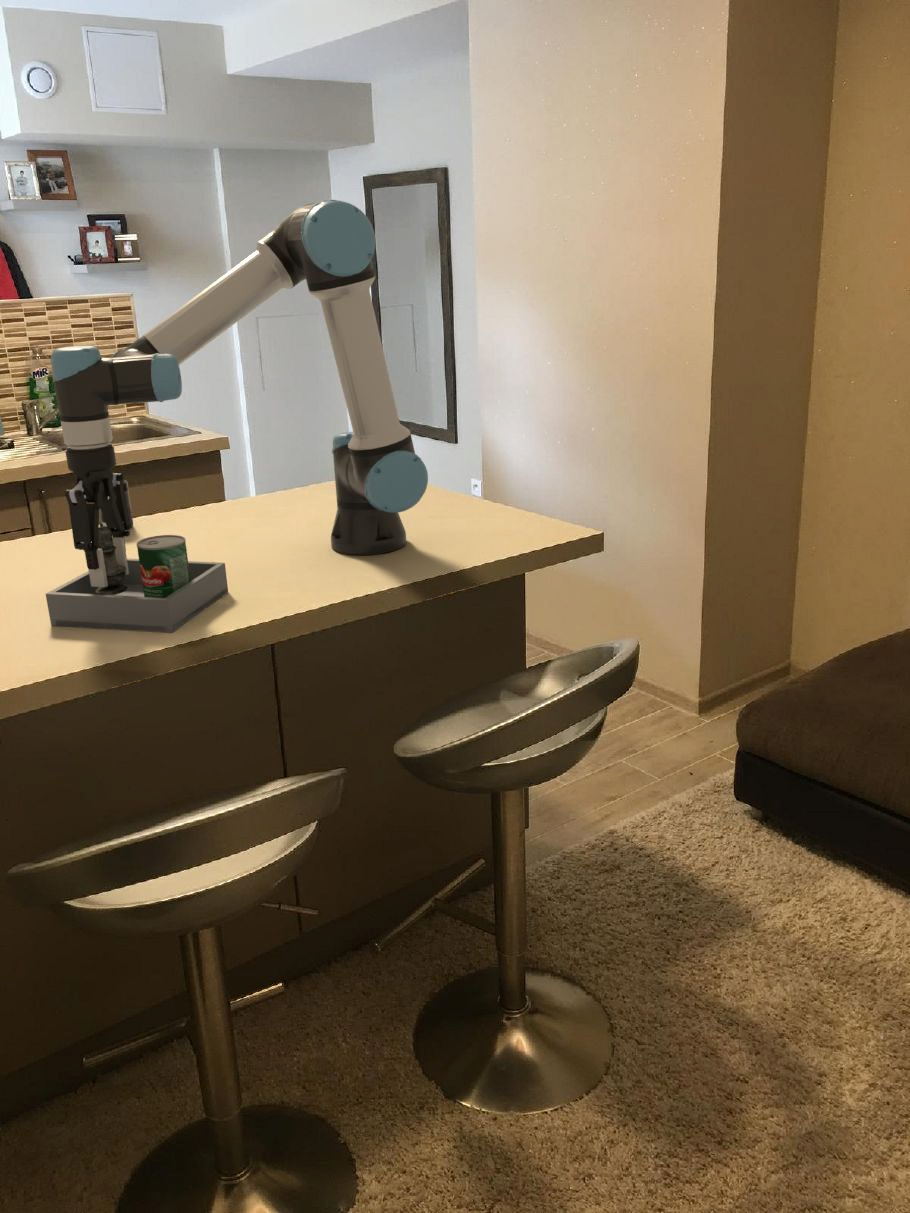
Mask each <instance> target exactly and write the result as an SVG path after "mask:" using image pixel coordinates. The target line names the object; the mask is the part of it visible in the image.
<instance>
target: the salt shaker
mask: <svg viewBox="0 0 910 1213" xmlns="http://www.w3.org/2000/svg"><path fill="white" fill-rule="evenodd" d="M112 537H113V536H112V533H111V530H110V529H109V528H106V527H104V526H103V524H102V523H101V521H99V543H98V548H102V551H103V557H104V563H105V570H106V576H107V582H108V586H107V587H99V588H98V589H97V590H96V591H95V593H96V594H99V595H114V594H119V593H122V592H124V591H126V590H127V589H128V587H127V586H125V585H123V584H119V583H121V582H122V581H123V580H124V577H125V571H126V569H127V568H126V567H125V566H122V565H119V564H118V562H117V560H116V555H115V549H116V547H115V546H113V539H112Z"/></svg>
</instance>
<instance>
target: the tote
mask: <svg viewBox="0 0 910 1213" xmlns="http://www.w3.org/2000/svg"><path fill="white" fill-rule="evenodd" d="M127 563H128V570H129V574H128V575H125V577H124V580H123V581H122V582H121V583H119V584H123V585H125V586H127V587H128V589H127V590H126V591H124V592H122V593H119V594H114V595H99V594H96V593H95V591H96V590H97V589H98V588H99V587H91V582H90V576H89V570H88V571H86V572H84V573H82V574H80V575H78V576H75V577H74V578H73V579H71V580H69V581H67V582H65V583H63V584H61V585H60V586H57V587H56V588H54V589H52V590H50V591H48V592H46V593H45V599H46V605H47V610H48V614H49V615H48V616H49V621H50V622H49V623H50V626H52V627H53V626H54V627H68V628H71V627H72V628H84V629H85V628H86V629H87V628H88V629H101V630H103V629H104V630H117V631H118V630H119V631H134V632H149V633H151V632H152V633H162V634H163V633H166V634H173V633H174V632H176V631H177V630H178V629H180V628H181V627H182V626H184V625H185V624H187V623H188V622H190V621H191V620H193V618H195V617H197V616H198V615H199V614H201V613H202V612H204V611H205V610H206V609H207V608H209V607H210V606H212V605H213V604H214V603H216V602H217V601H219V600H220V599H221V598H222V597H224V596H226V595H227V594H228V593H229V586H228V579H227V571H226V569H227V568H226V563H225V562H216V561H215V562H214V561H193V560H192V561H191V560H188V564H189V572H190V580H191V582H189V583H187V584H186V585H184V586H183V587H181V588H180V589H178V590H177V591H175V592H174V593H172V594H171V595H169V596H168V597H166V598H155V597H144V590H143V583H142V576H141V570H140V563H139V558H127Z"/></svg>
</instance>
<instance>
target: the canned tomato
mask: <svg viewBox="0 0 910 1213" xmlns="http://www.w3.org/2000/svg"><path fill="white" fill-rule="evenodd" d="M186 544H187V543H186V537H184V536H181V535H177V534H176V535H175V534H162V535H154V536H153V535H152V536H149V537H145V538H142V539H140V540H138V541H137V542H136V548H137V555H138V559H139V563H140V570H141V576H142V583H143V590H144V597H155V598H166V597H168V596H169V595H171V594H172V593H174V592H175V591H177V590H178V589H180V588H181V587H183V586H184V585H186V584H187V583H189V582H191V580H190V572H189V564H188V561H189V558H188V549H187V545H186Z"/></svg>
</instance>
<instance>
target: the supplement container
mask: <svg viewBox="0 0 910 1213" xmlns="http://www.w3.org/2000/svg"><path fill="white" fill-rule="evenodd" d="M115 487H116V486H115ZM124 492H125V497H126V502H127V508H128V513H129V519H130V524H131V528H130V530H131V529H132V528H133V527H134V520H133V519H134V518H133V513H132V505H131V498H130V492H129V484H128V480H127V479H124ZM99 519H100V522H101V523H102V524H103V526H104V527H106V528H107V525H106V523H105V520H104V517H103V514H102V512H101V509H99ZM122 522H123V523H124V521H122ZM126 531H128V530H126Z"/></svg>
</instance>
